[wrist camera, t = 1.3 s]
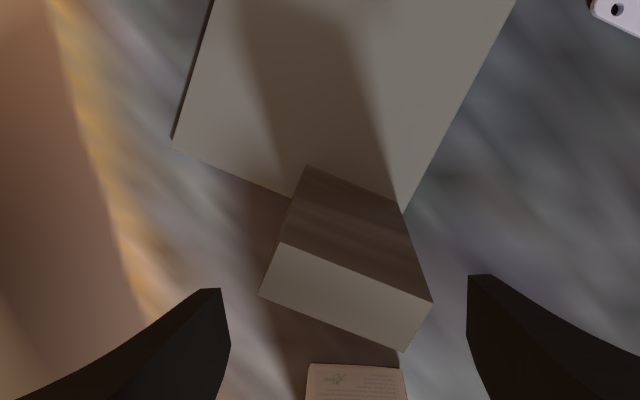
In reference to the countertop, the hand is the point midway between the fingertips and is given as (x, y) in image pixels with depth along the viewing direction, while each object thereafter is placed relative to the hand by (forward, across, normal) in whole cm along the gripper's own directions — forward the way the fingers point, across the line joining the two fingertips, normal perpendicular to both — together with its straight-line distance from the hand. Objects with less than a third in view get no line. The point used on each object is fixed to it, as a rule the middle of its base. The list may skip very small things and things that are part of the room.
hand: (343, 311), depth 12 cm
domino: (+10, 0, 0) cm, 10 cm away
